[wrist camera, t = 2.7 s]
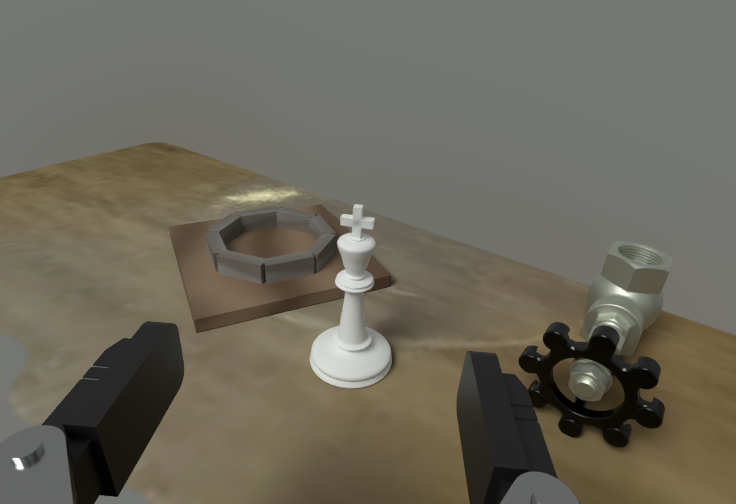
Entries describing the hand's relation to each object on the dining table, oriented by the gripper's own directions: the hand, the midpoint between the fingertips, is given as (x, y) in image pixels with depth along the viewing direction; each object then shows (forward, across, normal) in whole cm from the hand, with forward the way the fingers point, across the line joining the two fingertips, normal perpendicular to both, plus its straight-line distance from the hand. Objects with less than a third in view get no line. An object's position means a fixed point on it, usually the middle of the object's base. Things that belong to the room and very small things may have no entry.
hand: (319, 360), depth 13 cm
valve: (+12, -15, +10) cm, 22 cm away
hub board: (+22, +7, +10) cm, 25 cm away
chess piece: (+12, 0, +10) cm, 16 cm away
